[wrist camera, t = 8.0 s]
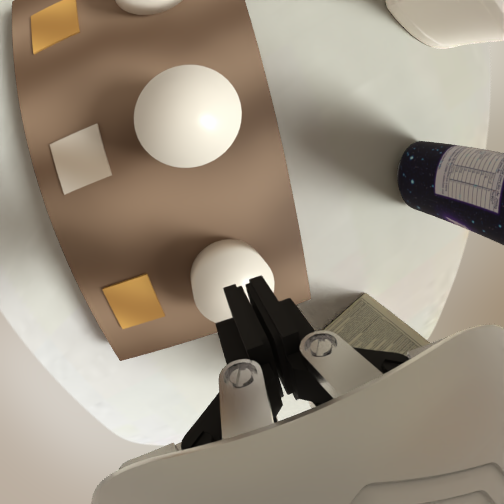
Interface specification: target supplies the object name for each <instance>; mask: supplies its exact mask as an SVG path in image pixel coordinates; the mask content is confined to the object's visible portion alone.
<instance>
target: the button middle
mask: <svg viewBox="0 0 504 504" xmlns="http://www.w3.org/2000/svg"><path fill="white" fill-rule="evenodd" d="M241 117H242V110H241V103H240V100H239V97H238V94H237V92H236V90H235V89H234V87H233V86H232V84H231V83H230V82H229V81H228V80H227V79H226V78H225V77H224V76H223V75H221V74H220V73H218V72H217V71H215V70H212V69H210V68H207V67H204V66H199V65H181V66H176V67H173V68H170V69H167V70H165V71H163V72H161V73H160V74H158V75H157V76H155V77H154V78H153V79H152V80H151V81H150V82H149V83H148V84H147V85H146V86H145V87H144V89H143V90H142V92H141V94H140V95H139V97H138V100H137V102H136V106H135V110H134V126H135V131H136V134H137V137H138V139H139V141H140V143H141V145H142V146H143V148H144V149H145V150H146V151H147V152H148V153H149V154H150V155H151V156H152V157H153V158H155V159H156V160H158V161H160V162H162V163H164V164H166V165H170V166H173V167H179V168H191V167H197V166H202V165H204V164H207V163H209V162H211V161H213V160H215V159H217V158H218V157H220V156H221V155H222V154H223V153H224V152H226V150H227V149H228V148H229V147H230V146H231V144H232V143H233V142H234V140H235V138H236V136H237V134H238V131H239V129H240V124H241Z"/></svg>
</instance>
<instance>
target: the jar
mask: <svg viewBox="0 0 504 504" xmlns="http://www.w3.org/2000/svg"><path fill="white" fill-rule="evenodd" d="M385 1H386V6H387V8H388V10H389V11H390V12H391V14H392V15H393V16H394V17H395V18H396V20H397V21H398V22H399V23H400V24H401V25H402V26H403V27H404V28H405V29H406V30H407V31H408V32H409V33H410V34H411V35H413V36H414V37H415V38H417V39H418V40H419V41H421V42H423V43H424V44H426V45H428V46H431V47H433V48H438V49H446V48H452V47H456V46H458V45H466V44H473V43H482V42H492V41H504V0H385Z"/></svg>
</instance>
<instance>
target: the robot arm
mask: <svg viewBox="0 0 504 504" xmlns="http://www.w3.org/2000/svg"><path fill="white" fill-rule="evenodd" d="M245 286H246V290H247V293H248V297H249V300H248V298H247V296H246V294H245V292H244V290H243V288H242V286H238V287H237V286H236V284H233V285H230V286H227V287H224V288H223V290H224V293H225V296H226V299H227V302H228V305H229V308H230V311H231V314H232V317H233V318H230V319H226V320H223V321H220V322H217V323H215V324H216V328H217V332H218V335H219V339H220V342H221V346H222V349H223V353H224V356H225V359H226V363H227V365H226V366H225V367H224V368H223V369H222V371H221V372H220V374H219V393H218V394H217V396H216V397H215V398H214V400H213V401H212V402H211V403H210V405H209V406H208V407H207V409H206V410H205V411H204V412H203V414H202V415H201V416H200V417H199V419H198V420H197V421H196V422H195V424H194V425H193V426H192V427H191V429H190V430H189V431H188V432H187V434H186V435H185V436H184V438H183V440H182V442H181V443H178V444H176V445H175V444H174V443H171V444H169V445H166V446H164V447H162V448H159V449H157V450H154V451H152V452H150V453H148V454H144V455H142V456H140V457H137V458H134V459H132V460H129V461H127V462H125V463H123V464H122V466H121V467H120V468H119V470H118V471H116V472H114V473H112V474H111V475H109V476H108V477H106V478H105V479H104V480H102V481H101V482H100V484H99V485H98V486H97V488H96V489H95V491H94V494H93V498H92V502H91V504H504V328H503V327H501V326H499V325H495V324H483V325H478V326H474V327H470V328H467V329H465V330H462V331H459V332H457V333H455V334H453V335H452V336H449V337H446V338H444V339H441V340H438V341H436V342H433V343H430V344H427V345H425V346H422V347H419V348H416V349H413V350H410V351H408V353H407V355H403V354H400V353H395V352H386V351H378V350H370V349H362V348H355V347H351V346H350V345H349V344H348V343H347V342H345V341H344V340H343V339H342V338H341V337H340V336H339V335H337V334H335V333H334V332H331V331H325V330H321V331H314V329H313V328H312V327H311V325H310V324H309V323H308V321H307V320H306V318H305V317H304V316H303V314H302V313H301V312H300V310H299V309H298V307H297V306H296V305H295V303H294V302H293V301H292V299H291V298H287V299H284V300H282V301H278V299H277V298H276V296H275V295H274V293H273V292H272V290H271V289H270V287H269V286H268V284H267V282H266V281H265V279H264V278H263V276H262V275H260V276H257V277H254V278H251V279H249V283H247V284H245ZM249 301H250V302H249ZM279 378H280V380H281V382H282V384H283V386H284V389H285V391H286V393H287V394H288V395H289V394H291V393H293V395H294V397H295V399H296V400H297V399H303V400H307V401H309V404H310V406H311V408H312V409H309V410H307V411H304V412H302V413H299V414H297V415H294V416H292V417H289V418H286V419H284V420H281V421H278V419H277V414H278V412H279V411H280V409H281V407H282V405H283V404H282V400H281V397H283V396H284V395H283V391H282V387H281V384H280V380H279Z"/></svg>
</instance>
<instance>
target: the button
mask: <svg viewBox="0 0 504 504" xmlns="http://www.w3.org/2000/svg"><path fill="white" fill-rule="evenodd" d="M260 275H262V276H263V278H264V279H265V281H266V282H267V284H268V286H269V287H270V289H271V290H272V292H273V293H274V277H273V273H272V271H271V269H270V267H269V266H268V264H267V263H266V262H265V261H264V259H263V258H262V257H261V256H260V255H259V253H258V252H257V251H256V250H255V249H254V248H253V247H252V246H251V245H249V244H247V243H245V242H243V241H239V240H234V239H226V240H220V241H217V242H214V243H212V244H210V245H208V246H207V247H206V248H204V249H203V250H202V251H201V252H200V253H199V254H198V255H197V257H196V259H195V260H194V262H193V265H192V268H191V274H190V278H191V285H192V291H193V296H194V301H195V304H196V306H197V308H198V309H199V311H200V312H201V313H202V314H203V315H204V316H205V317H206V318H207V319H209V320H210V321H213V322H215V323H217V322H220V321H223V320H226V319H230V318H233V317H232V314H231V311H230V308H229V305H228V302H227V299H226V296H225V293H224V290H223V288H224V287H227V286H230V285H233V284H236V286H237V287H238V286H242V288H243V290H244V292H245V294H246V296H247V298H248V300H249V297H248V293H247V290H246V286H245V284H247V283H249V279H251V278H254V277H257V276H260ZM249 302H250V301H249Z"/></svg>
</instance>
